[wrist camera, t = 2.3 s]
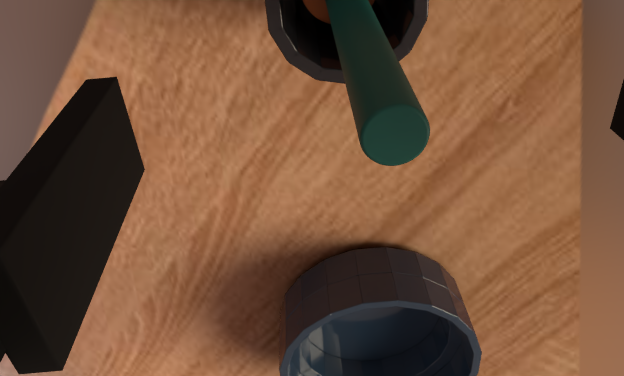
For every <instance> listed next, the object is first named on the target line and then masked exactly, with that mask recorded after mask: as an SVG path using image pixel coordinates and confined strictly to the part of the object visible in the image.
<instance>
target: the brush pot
mask: <svg viewBox="0 0 624 376" xmlns="http://www.w3.org/2000/svg"><path fill="white" fill-rule="evenodd" d="M265 6H266V14H267V22H268V30H269V32H270V35H271V36H272V38H273V39H274V41H275V43H276V44H277V46H278V47H279V49H280V50H281V52H282V54H283V55H284V57H285V58H286V60H287V61H288V62H289V63H290V64H292V65H293V66H295V67H296V68H298V69H300V70H301V71H303V72H304V73H306V74H308V75H309V76H311V77H312V78H314V79H315V80H320V81H328V82H336V83H344V84H345V80H344V75H343V71H342V67H341V63H340V59H339V55H338V51H337V47H336V43H335V39H334V35H333V31H332V26H331V24H329V23H325V22H323V21H321V20H319V19H317V18H316V17H315V16H313V15H312V14H311V13H310V12H309V10H308V9H307V8H306V6H305V4H304V2H303V0H265ZM428 7H429V0H375V2H374V4H373V5H372V9H373V11H374V13H375V15H376V17H377V19H378V21H379V23H380V25H381V27H382V29H383V31H384V33H385V35H386V37H387V39H388V41H389V43H390V45H391V47H392V49H393V51H394V53H395V55H396V57H397V59H398V61H400V60H401V59H402V58H404V57H405V56H406V55H407V54H408V53H410V51H411V50H412V48H413V46H414V44H415V42H416V40H417V38H418V36H419V34H420V32H421V30H422V28H423V27H424V25H425V23H426V21H427V17H428Z"/></svg>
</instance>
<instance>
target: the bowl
mask: <svg viewBox="0 0 624 376" xmlns="http://www.w3.org/2000/svg"><path fill="white" fill-rule="evenodd" d="M481 354H482V351H481V348H480V346H479V343H478V340H477V337H476V334H475V331H474V329H473V326H472V323H471V321H470V318H469V316H468V313H467V310H466V308H465V305H464V303H463V300H462V297H461V295H460V292H459V289H458V287H457V284H456V282H455V280H454V278H453V277H452V276H451V275H450V274H449V273H448V272H447V271H446V270H445V269H444V268H443V267H442V266H441V265H440V264H439V263H438V262H436V261H434V260H431V259H429V258H427V257H425V256H423V255H421V254H419V253H417V252H414V251H407V250H401V249H395V248H389V247H379V248H367V249H355V250H351V251H348V252H345V253H342V254H339V255H336V256H333V257H330V258H327V259H325V260H323V261H322V262H320V263H319V264H317V265H316V266H314V267H313V268H311V269H309V270H308V271H306V272H305V273H303V274H302V275H301V276H300V277H299V278H298V279H297V281H296V282H295V283H294V284H293V285H292V287H291V288H290V289H289V290H288V292H287V293H286V294H285V298H284V301H283V304H282V308H281V311H280V341H279V371H280V376H476V375H477V374H478V371H479V365H480V360H481Z"/></svg>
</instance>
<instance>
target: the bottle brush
mask: <svg viewBox="0 0 624 376" xmlns="http://www.w3.org/2000/svg"><path fill="white" fill-rule="evenodd" d="M303 2H304V4H305V6H306V8H307V9H308V10H309V12H310V13H311V14H312V15H313V16H315V17H316V18H317V19H319V20H321V21H323V22H325V23H329V24H331V26H332V31H333V35H334V39H335V43H336V47H337V51H338V55H339V59H340V63H341V67H342V71H343V75H344V80H345V84H346V88H347V92H348V96H349V100H350V104H351V108H352V112H353V116H354V120H355V124H356V129H357V133H358V137H359V141H360V145H361V148H362V150H363V152H364V153H365V154H366V155H367V157H369V158H370V159H371V160H373V161H374V162H376V163H379V164H382V165H387V166H396V165H401V164H404V163H407V162H409V161H411V160H413V159H414V158H416V157H417V156H418V155H419V154H420V153H421V152H422V151H423V150H424V148H425V146H426V144H427V142H428V139H429V135H430V126H429V122H428V120H427V118H426V116H425V114H424V112H423V110H422V108H421V106H420V104H419V102H418V100H417V98H416V96H415V93H414V91H413V89H412V87H411V85H410V83H409V81H408V79H407V77H406V75H405V73H404V71H403V69H402V67H401V65H400V63H399V61H398V59H397V57H396V55H395V53H394V51H393V49H392V47H391V45H390V43H389V41H388V39H387V37H386V35H385V33H384V31H383V29H382V27H381V25H380V23H379V21H378V19H377V17H376V15H375V13H374V11H373V9H372V5H373V4H374V2H375V0H303Z"/></svg>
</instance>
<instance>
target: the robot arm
mask: <svg viewBox="0 0 624 376" xmlns="http://www.w3.org/2000/svg"><path fill="white" fill-rule="evenodd" d="M610 129H612V130H613V131H614V132H615V133H616V134H617V135H618V136H619V137H621V138H622V139H623V140H624V80H623V84H622V88H621V91H620V94H619V98H618V102H617V105H616V109H615V112H614V116H613V119H612V123H611V127H610ZM144 170H145V169H144V166H143V162H142V159H141V156H140V152H139V149H138V146H137V142H136V139H135V136H134V132H133V129H132V126H131V123H130V119H129V116H128V113H127V109H126V106H125V103H124V99H123V96H122V93H121V89H120V86H119V83H118V79H117V77H110V78H99V79H88V80H86V81H85V82H84V83H83V84H82V86H81V87H80V88H79V89H78V91H77V92H76V93H75V94H74V96H73V97H72V98H71V100H70V101H69V102H68V103H67V105H66V106H65V107H64V108H63V110H62V111H61V112H60V113H59V115H58V116H57V117H56V118H55V120H54V121H53V122H52V123H51V125H50V126H49V127H48V128H47V130H46V131H45V132H44V133H43V135H42V136H41V137H40V138H39V140H38V141H37V142H36V143H35V145H34V146H33V147H32V148H31V150H30V151H29V152H28V153H27V155H26V156H25V157H24V158H23V160H22V161H21V162H20V163H19V165H18V166H17V167H16V168H15V170H14V171H13V172H12V173H11V175H10V176H9V177H8V178H7V180H5V181H4V180H3V181H0V362H1V360H2V358H3V356H4V354H5V353H6V354H7V356H8V358H9V359H10V361H11V362H12V364H13V366H14V367H15V369H16V370H17V372H18V373H19V374H28V373H39V372H51V371H62V370H63V368H64V365H65V363H66V361H67V358H68V356H69V353H70V351H71V348H72V346H73V343H74V341H75V339H76V336H77V334H78V331H79V329H80V326H81V324H82V321H83V319H84V317H85V314H86V312H87V309H88V307H89V304H90V302H91V299H92V297H93V295H94V292H95V290H96V287H97V285H98V282H99V280H100V277H101V275H102V273H103V270H104V268H105V265H106V263H107V260H108V258H109V255H110V253H111V251H112V248H113V246H114V243H115V241H116V238H117V236H118V233H119V231H120V229H121V226H122V224H123V221H124V219H125V216H126V214H127V211H128V209H129V207H130V204H131V202H132V199H133V197H134V194H135V192H136V190H137V187H138V185H139V182H140V180H141V177H142V175H143V172H144Z"/></svg>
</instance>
